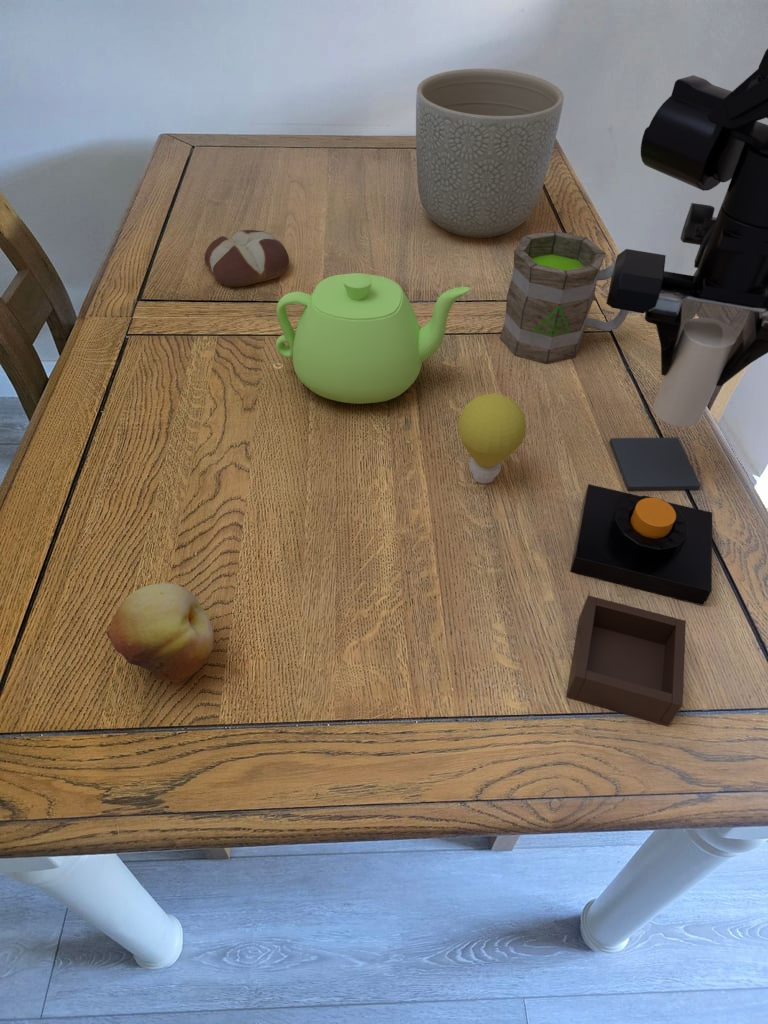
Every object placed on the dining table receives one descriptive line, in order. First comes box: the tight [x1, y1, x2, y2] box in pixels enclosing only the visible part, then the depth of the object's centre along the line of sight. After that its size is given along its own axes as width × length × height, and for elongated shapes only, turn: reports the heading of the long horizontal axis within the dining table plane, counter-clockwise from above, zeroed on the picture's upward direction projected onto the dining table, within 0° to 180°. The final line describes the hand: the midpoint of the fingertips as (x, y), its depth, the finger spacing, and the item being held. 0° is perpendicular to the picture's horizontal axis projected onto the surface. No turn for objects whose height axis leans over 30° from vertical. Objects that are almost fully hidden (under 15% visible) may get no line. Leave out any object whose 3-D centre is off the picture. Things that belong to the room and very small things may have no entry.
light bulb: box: [457, 392, 527, 485], centre depth 71 cm, size 7×7×10 cm
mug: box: [499, 230, 629, 365], centre depth 88 cm, size 16×11×12 cm
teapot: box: [275, 272, 470, 405], centre depth 81 cm, size 22×15×13 cm
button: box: [631, 497, 676, 539], centre depth 65 cm, size 4×4×2 cm
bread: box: [204, 229, 290, 288], centre depth 101 cm, size 11×11×5 cm
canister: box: [652, 317, 738, 428], centre depth 65 cm, size 5×5×9 cm
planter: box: [415, 68, 565, 239], centre depth 107 cm, size 21×21×19 cm
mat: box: [608, 436, 702, 492], centre depth 76 cm, size 8×8×1 cm
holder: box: [565, 595, 687, 727], centre depth 58 cm, size 8×8×4 cm
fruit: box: [106, 582, 215, 683], centre depth 56 cm, size 8×8×8 cm
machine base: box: [570, 483, 713, 606], centre depth 67 cm, size 12×10×4 cm
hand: (691, 378), depth 65 cm, fingers closed on canister, 4 cm apart
